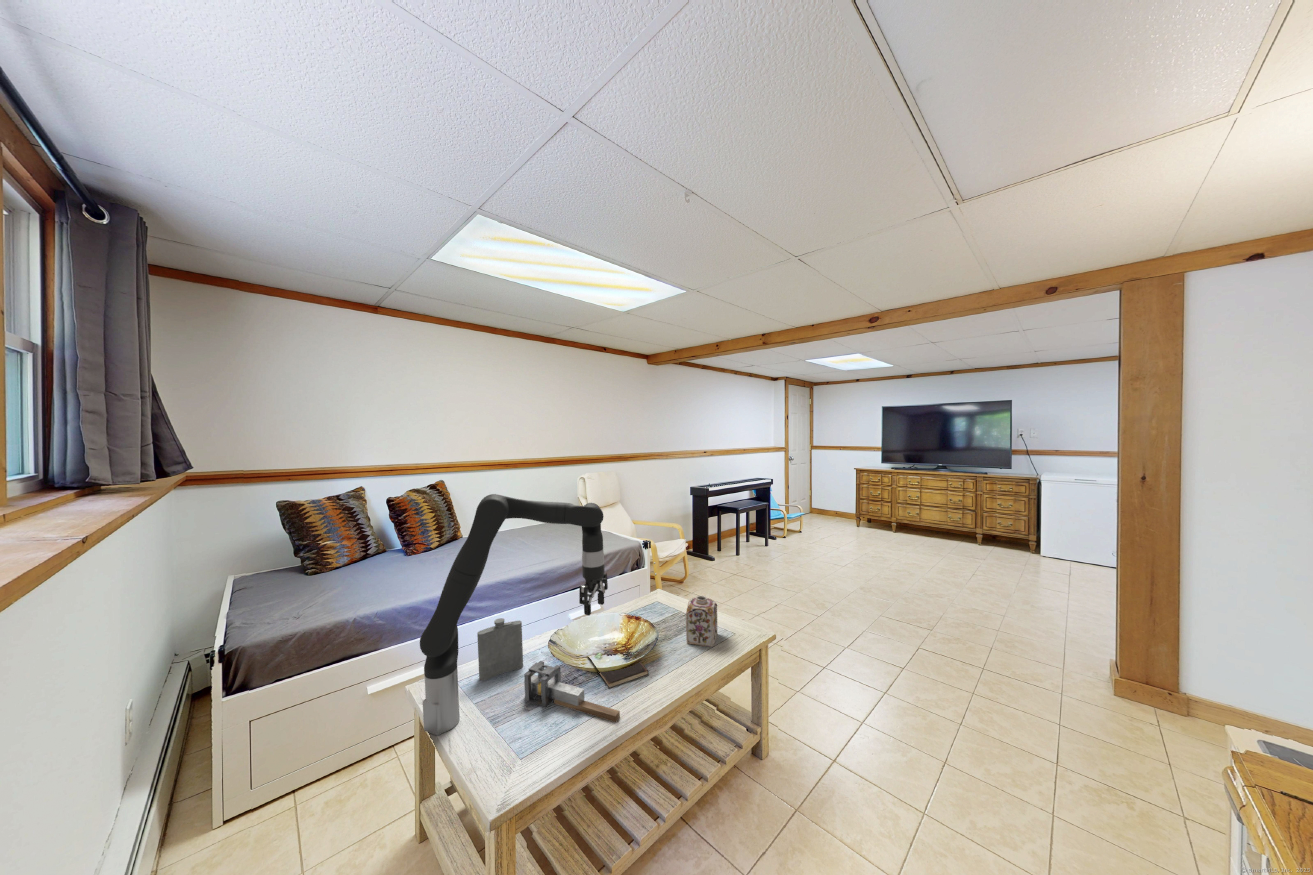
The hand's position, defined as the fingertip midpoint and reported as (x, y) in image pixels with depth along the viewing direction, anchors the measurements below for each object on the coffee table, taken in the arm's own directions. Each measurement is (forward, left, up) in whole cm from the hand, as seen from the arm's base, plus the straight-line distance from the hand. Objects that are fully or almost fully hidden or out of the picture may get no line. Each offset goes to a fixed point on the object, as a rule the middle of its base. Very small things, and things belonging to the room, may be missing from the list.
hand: (594, 609), depth 143 cm
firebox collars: (-8, +17, -30) cm, 35 cm away
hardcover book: (+18, +2, -31) cm, 36 cm away
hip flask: (-2, +41, -30) cm, 51 cm away
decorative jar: (+48, -23, -30) cm, 61 cm away
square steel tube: (-8, +12, -28) cm, 32 cm away
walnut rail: (-8, -1, -30) cm, 31 cm away
